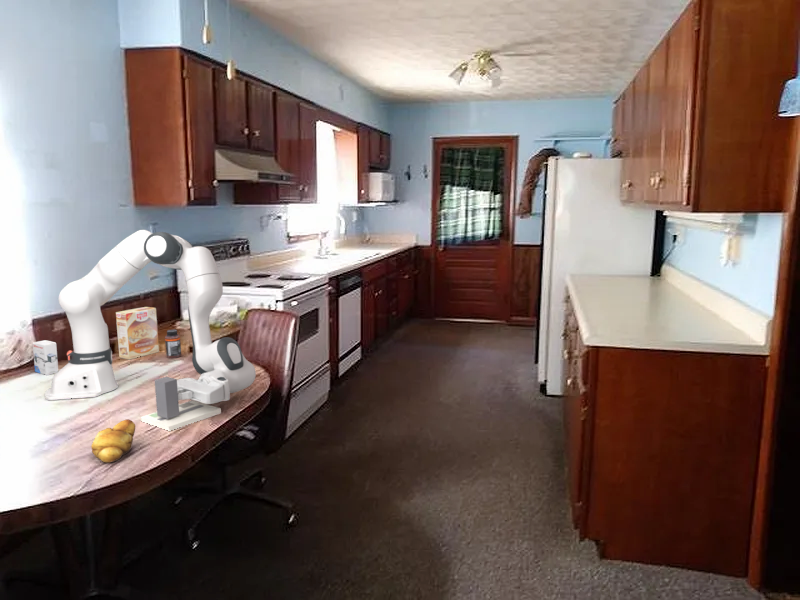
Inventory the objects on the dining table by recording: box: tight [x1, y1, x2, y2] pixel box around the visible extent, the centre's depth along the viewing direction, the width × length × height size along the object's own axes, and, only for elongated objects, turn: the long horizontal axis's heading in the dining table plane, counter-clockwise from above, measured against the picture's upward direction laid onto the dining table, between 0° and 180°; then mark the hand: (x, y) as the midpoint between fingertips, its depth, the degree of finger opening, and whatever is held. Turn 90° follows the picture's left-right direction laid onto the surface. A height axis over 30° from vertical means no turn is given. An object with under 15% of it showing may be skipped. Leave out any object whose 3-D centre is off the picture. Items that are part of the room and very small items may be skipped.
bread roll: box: [90, 418, 136, 463], centre depth 156 cm, size 13×10×8 cm
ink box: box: [32, 339, 59, 376], centre depth 232 cm, size 9×5×12 cm, turn 58°
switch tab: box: [154, 376, 180, 419], centre depth 179 cm, size 4×5×11 cm
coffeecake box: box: [115, 306, 160, 360], centre depth 256 cm, size 15×7×20 cm, turn 151°
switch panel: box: [140, 399, 222, 432], centre depth 184 cm, size 18×14×2 cm
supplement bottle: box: [164, 329, 182, 359], centre depth 253 cm, size 6×6×11 cm
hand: (173, 397), depth 181 cm, fingers closed, pressing on switch tab
